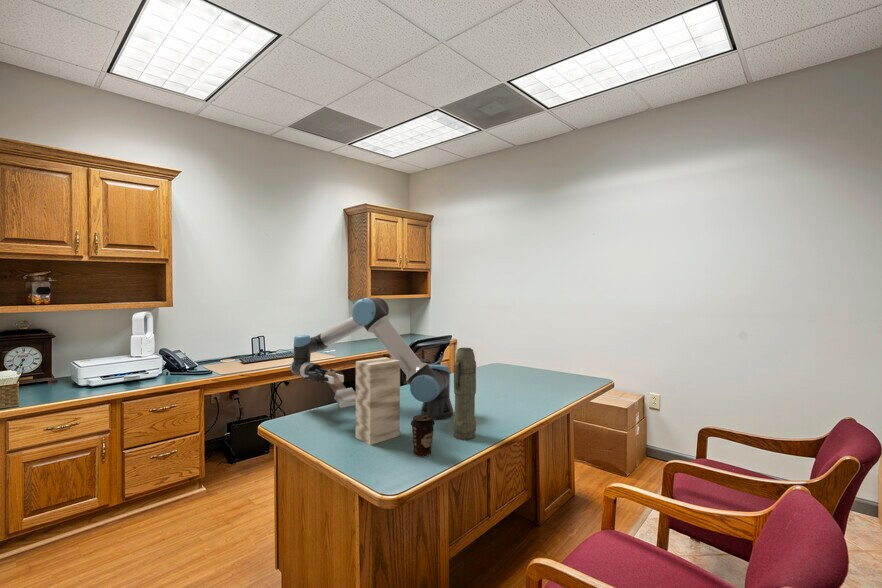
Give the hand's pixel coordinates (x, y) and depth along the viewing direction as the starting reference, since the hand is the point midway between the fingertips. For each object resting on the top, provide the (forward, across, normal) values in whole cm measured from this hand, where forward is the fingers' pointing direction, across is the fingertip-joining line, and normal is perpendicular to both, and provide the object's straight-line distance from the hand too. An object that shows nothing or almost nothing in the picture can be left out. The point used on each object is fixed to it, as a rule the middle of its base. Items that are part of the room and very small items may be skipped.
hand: (338, 379), depth 172 cm
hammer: (0, 0, -5) cm, 5 cm away
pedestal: (+20, -6, -20) cm, 29 cm away
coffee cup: (+44, -8, -20) cm, 50 cm away
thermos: (+43, -32, -20) cm, 57 cm away
